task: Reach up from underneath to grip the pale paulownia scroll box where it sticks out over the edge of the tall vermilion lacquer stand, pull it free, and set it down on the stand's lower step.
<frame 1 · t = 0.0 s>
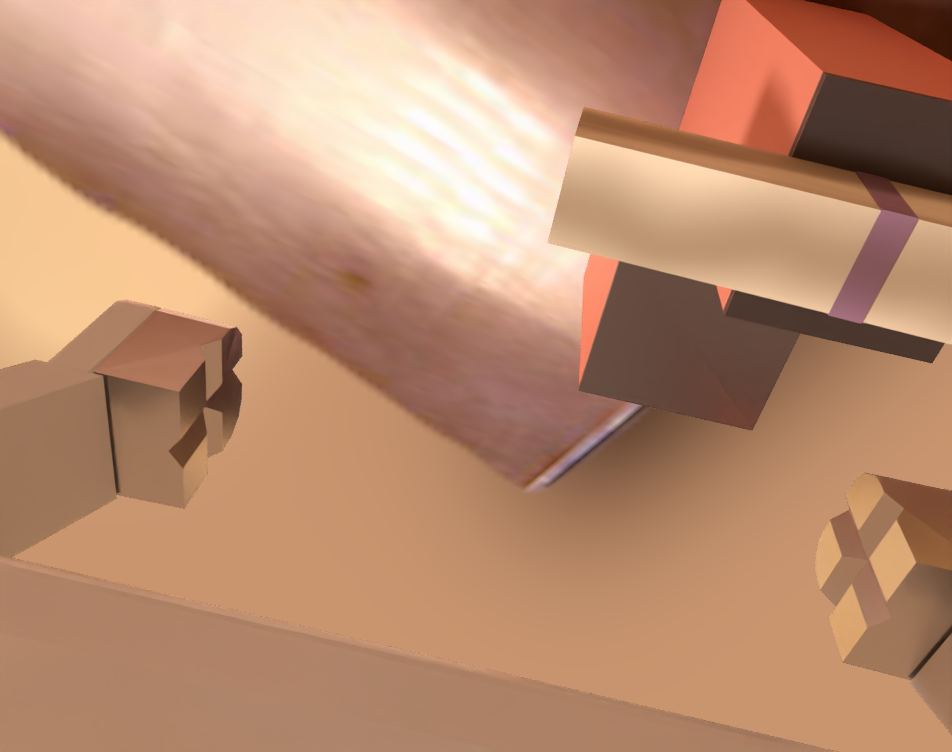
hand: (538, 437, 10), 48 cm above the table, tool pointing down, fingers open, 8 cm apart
lacquer stand: (719, 163, 55), on the table
scroll box: (783, 209, 30), point 26 cm above the table, touching lacquer stand
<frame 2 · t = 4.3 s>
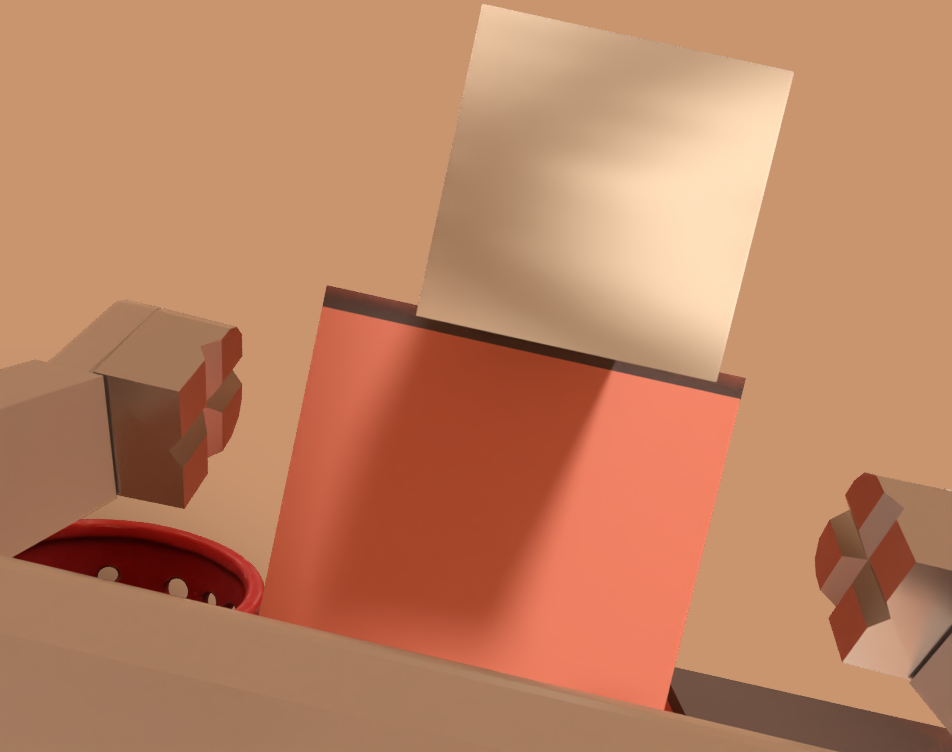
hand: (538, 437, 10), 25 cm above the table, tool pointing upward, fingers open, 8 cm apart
scroll box: (534, 331, 19), point 26 cm above the table, touching lacquer stand
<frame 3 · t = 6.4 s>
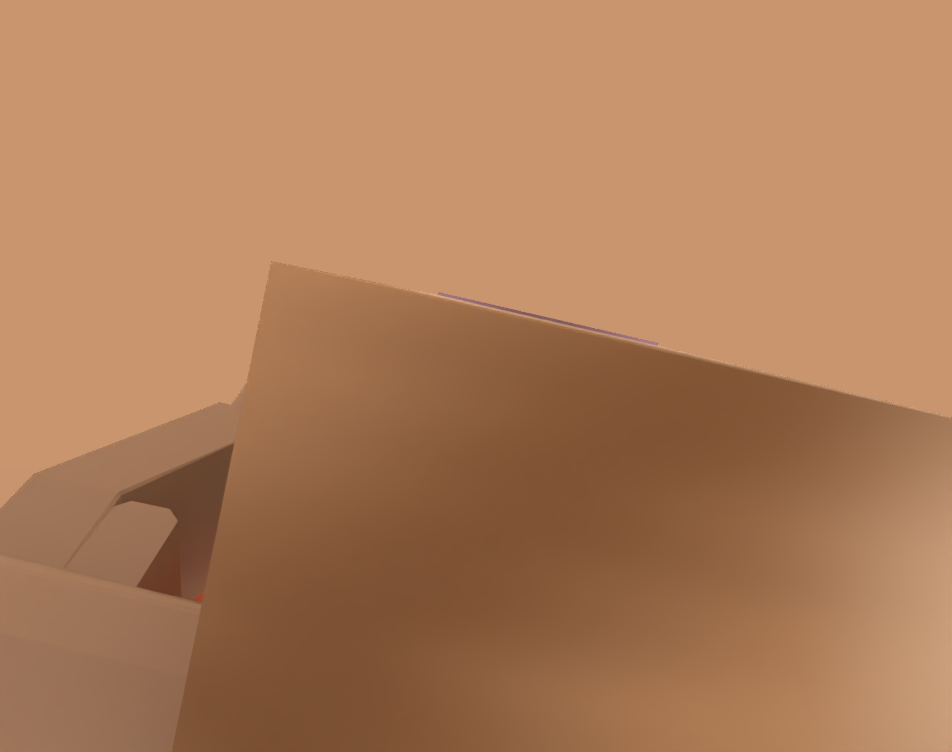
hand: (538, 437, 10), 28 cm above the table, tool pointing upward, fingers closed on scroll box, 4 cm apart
scroll box: (497, 562, 13), point 26 cm above the table, touching gripper, lacquer stand
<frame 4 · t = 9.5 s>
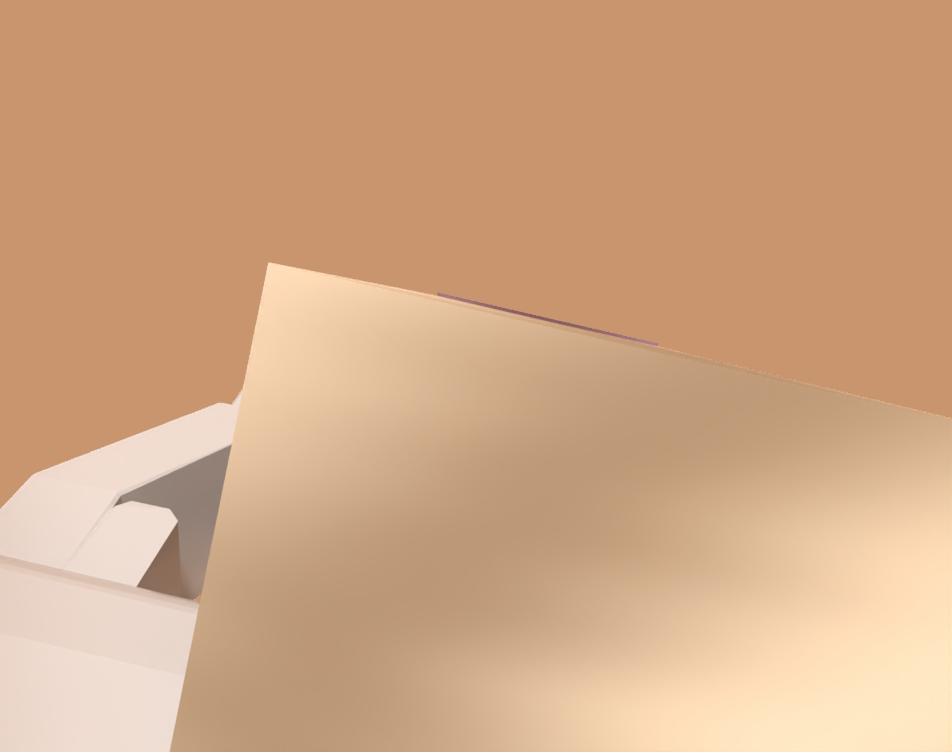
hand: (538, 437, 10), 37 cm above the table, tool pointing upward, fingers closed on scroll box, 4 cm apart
scroll box: (496, 564, 13), point 34 cm above the table, touching gripper
when the fingers open (20 cm above the table, at t = 13.0 s): scroll box drops 2 cm, resting on lacquer stand.
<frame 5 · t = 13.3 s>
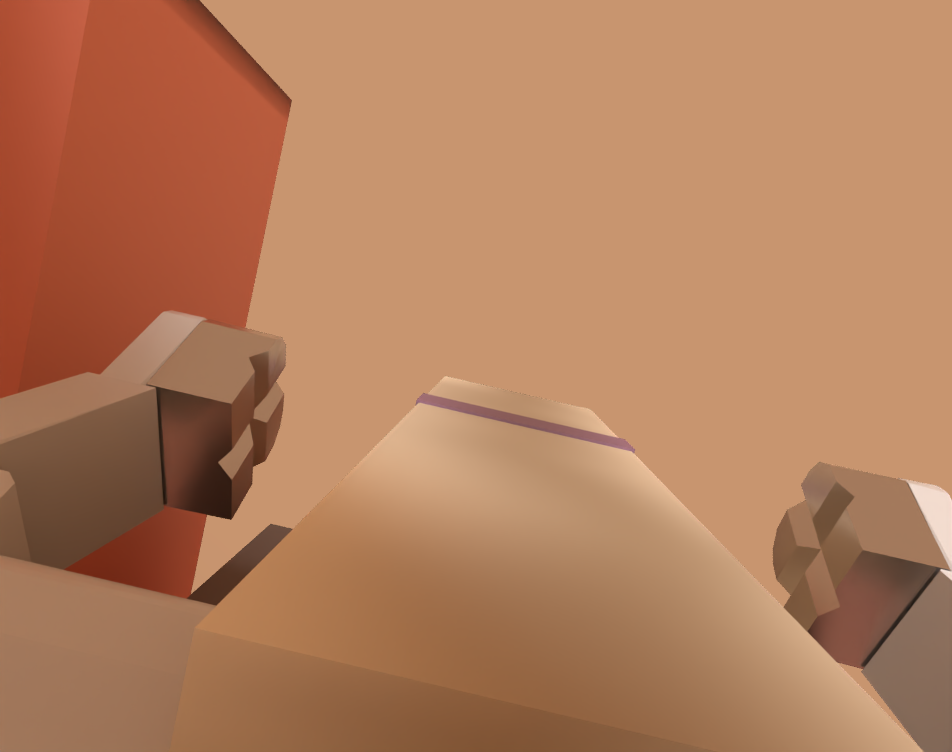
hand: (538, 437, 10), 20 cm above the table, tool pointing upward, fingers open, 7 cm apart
scroll box: (472, 680, 13), point 16 cm above the table, touching lacquer stand
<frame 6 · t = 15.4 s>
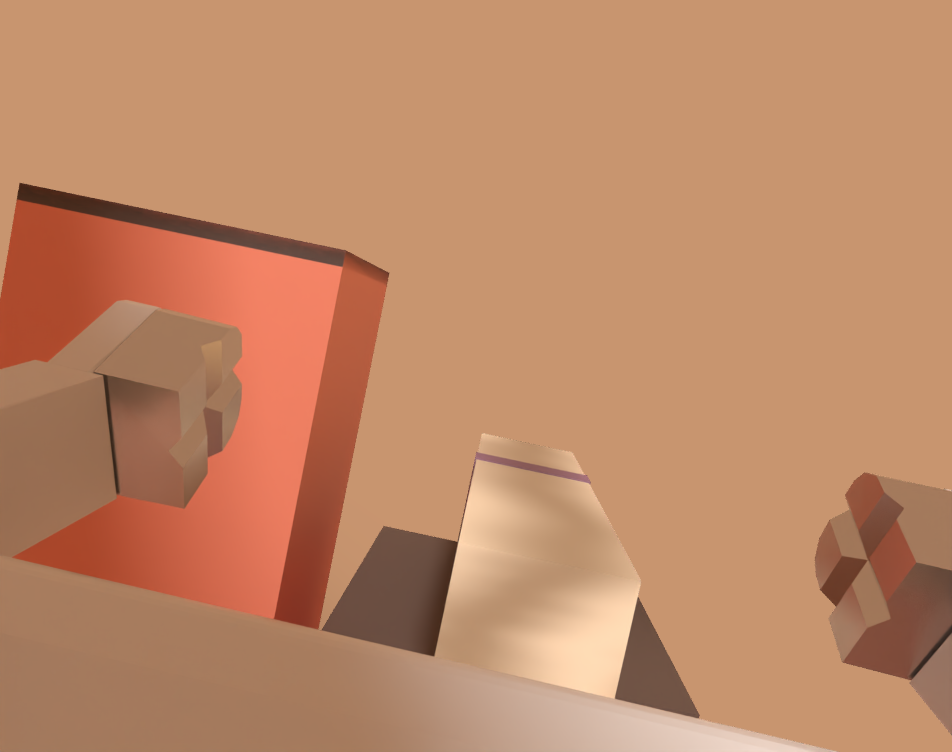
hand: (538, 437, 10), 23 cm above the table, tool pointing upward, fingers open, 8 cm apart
scroll box: (509, 600, 25), point 16 cm above the table, touching lacquer stand
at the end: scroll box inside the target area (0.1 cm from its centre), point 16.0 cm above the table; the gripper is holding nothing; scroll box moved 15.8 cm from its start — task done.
